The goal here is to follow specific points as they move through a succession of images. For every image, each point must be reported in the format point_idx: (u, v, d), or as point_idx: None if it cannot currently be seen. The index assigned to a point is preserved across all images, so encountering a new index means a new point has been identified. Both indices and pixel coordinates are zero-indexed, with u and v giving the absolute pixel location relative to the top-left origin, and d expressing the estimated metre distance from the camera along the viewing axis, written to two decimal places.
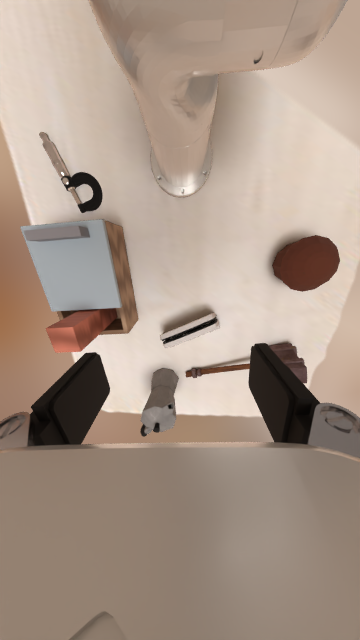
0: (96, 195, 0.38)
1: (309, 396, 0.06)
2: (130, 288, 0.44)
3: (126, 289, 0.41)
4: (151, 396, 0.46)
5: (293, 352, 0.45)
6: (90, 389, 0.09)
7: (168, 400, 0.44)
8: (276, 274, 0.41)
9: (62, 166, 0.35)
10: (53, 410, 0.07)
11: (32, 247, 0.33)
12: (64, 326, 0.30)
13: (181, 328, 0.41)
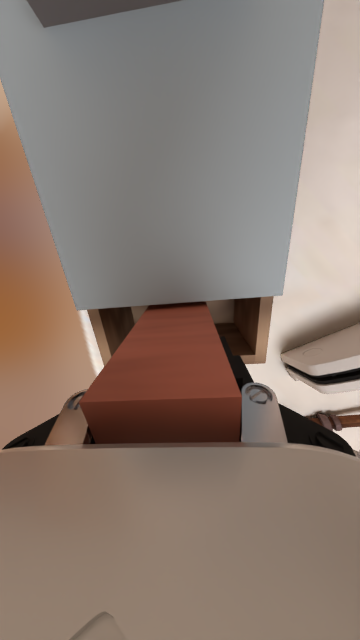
0: None
1: (240, 377, 0.07)
2: None
3: None
4: None
5: None
6: None
7: None
8: None
9: None
10: None
11: (12, 62, 0.09)
12: (180, 387, 0.05)
13: None
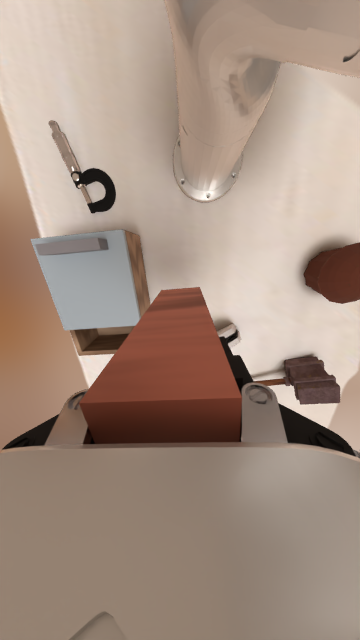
0: (109, 195, 0.34)
1: (240, 377, 0.07)
2: (147, 301, 0.40)
3: (144, 304, 0.37)
4: None
5: (321, 367, 0.41)
6: None
7: None
8: (309, 284, 0.38)
9: (73, 161, 0.31)
10: None
11: (43, 261, 0.29)
12: (180, 388, 0.05)
13: None
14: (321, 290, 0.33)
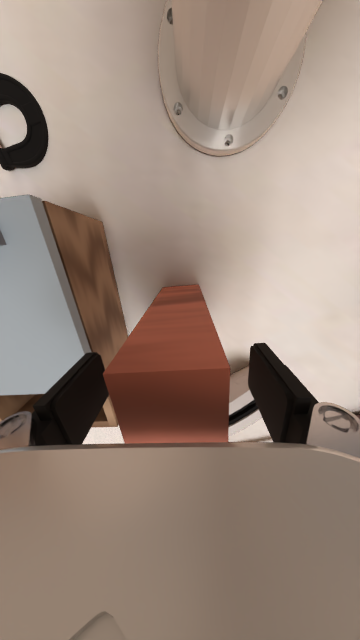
0: (34, 133, 0.18)
1: (307, 395, 0.06)
2: (121, 333, 0.24)
3: (112, 342, 0.21)
4: None
5: None
6: (91, 389, 0.09)
7: None
8: None
9: None
10: (54, 409, 0.07)
11: None
12: (182, 362, 0.07)
13: None
14: None
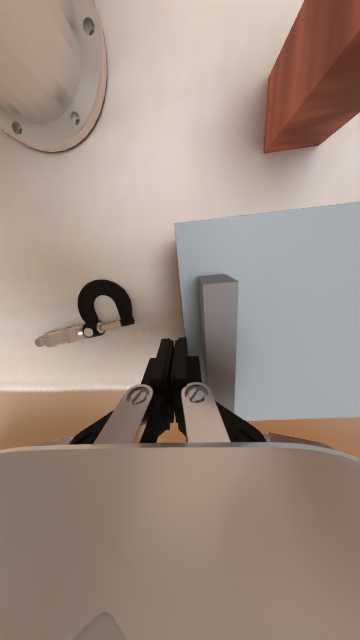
0: (109, 290, 0.21)
1: (183, 377, 0.07)
2: None
3: None
4: None
5: None
6: None
7: None
8: None
9: (72, 330, 0.23)
10: (165, 383, 0.07)
11: (234, 413, 0.15)
12: None
13: None
14: None
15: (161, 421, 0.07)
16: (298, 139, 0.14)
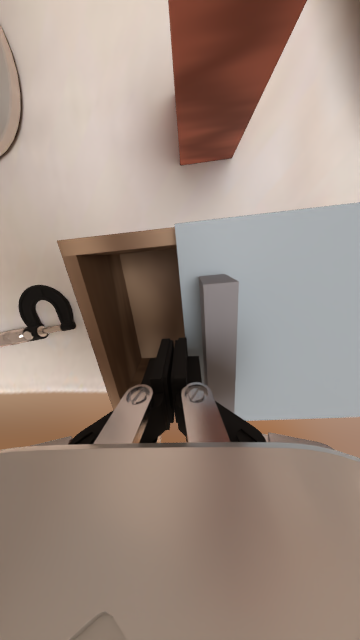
0: (48, 296, 0.22)
1: (183, 377, 0.07)
2: None
3: None
4: None
5: None
6: None
7: None
8: None
9: (13, 333, 0.23)
10: (165, 383, 0.07)
11: (234, 413, 0.15)
12: None
13: None
14: None
15: (161, 421, 0.07)
16: (204, 153, 0.15)
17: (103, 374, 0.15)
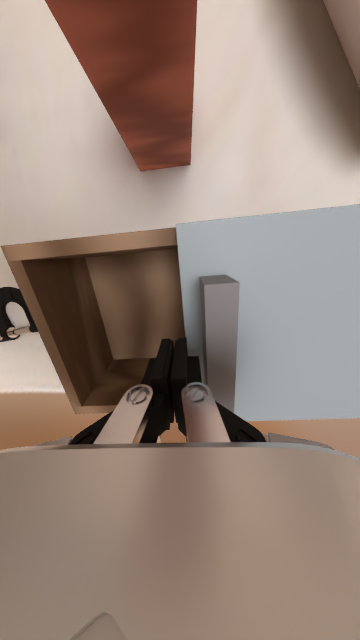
0: (17, 298, 0.22)
1: (183, 377, 0.07)
2: None
3: None
4: None
5: None
6: None
7: None
8: None
9: None
10: (165, 383, 0.07)
11: None
12: None
13: None
14: None
15: (161, 421, 0.07)
16: (160, 160, 0.15)
17: (60, 376, 0.16)
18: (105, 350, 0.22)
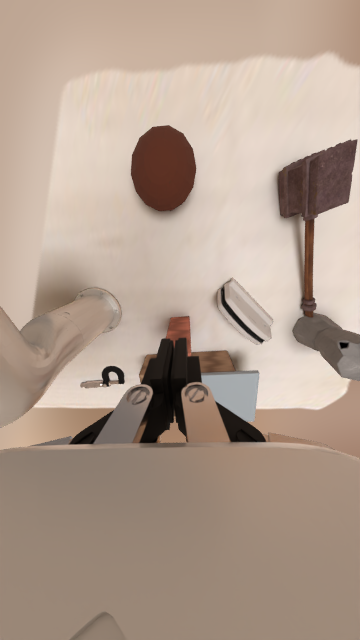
0: (115, 370, 0.53)
1: (183, 377, 0.07)
2: None
3: None
4: (325, 357, 0.37)
5: (292, 172, 0.29)
6: None
7: (335, 343, 0.33)
8: (179, 204, 0.35)
9: (97, 383, 0.54)
10: (165, 383, 0.07)
11: None
12: None
13: (241, 332, 0.38)
14: (180, 203, 0.30)
15: (161, 421, 0.07)
16: None
17: None
18: None
